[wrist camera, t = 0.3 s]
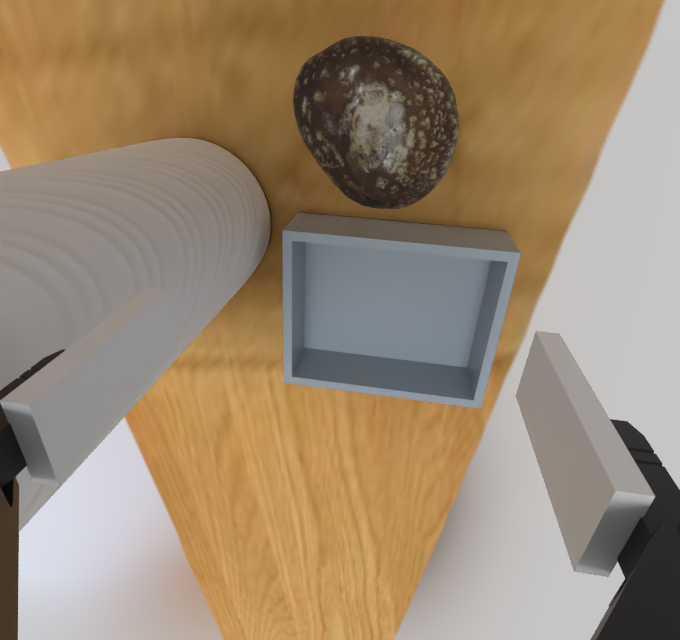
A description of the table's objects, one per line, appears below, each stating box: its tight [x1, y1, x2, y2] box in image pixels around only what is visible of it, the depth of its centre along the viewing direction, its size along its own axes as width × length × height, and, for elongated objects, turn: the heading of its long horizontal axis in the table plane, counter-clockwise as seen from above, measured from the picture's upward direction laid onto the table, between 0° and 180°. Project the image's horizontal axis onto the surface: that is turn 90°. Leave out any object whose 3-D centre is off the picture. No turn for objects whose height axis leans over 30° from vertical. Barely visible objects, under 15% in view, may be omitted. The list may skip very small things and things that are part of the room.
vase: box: [0, 138, 271, 531], centre depth 28 cm, size 14×14×32 cm
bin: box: [282, 212, 521, 408], centre depth 40 cm, size 15×19×6 cm
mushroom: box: [293, 36, 459, 209], centre depth 29 cm, size 10×9×15 cm
